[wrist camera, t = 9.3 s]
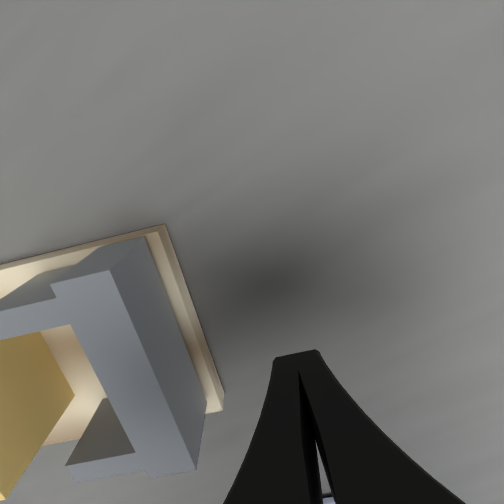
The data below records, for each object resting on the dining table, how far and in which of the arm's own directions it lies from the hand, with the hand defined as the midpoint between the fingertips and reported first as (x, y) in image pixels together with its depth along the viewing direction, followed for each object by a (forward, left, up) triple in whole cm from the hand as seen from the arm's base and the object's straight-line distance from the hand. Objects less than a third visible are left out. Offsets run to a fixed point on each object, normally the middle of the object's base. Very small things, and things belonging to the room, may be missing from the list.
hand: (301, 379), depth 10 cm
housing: (0, +8, -5) cm, 9 cm away
